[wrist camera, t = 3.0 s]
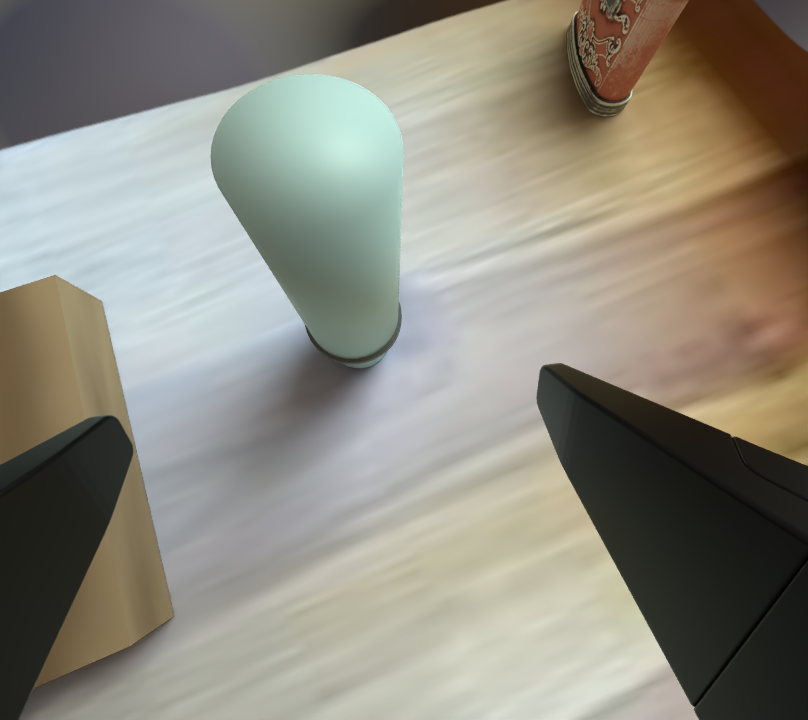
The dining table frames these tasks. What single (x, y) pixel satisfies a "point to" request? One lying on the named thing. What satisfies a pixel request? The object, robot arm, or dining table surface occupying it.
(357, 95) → the peg
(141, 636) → the board
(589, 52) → the lighter
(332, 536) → the dining table surface
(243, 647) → the dining table surface
